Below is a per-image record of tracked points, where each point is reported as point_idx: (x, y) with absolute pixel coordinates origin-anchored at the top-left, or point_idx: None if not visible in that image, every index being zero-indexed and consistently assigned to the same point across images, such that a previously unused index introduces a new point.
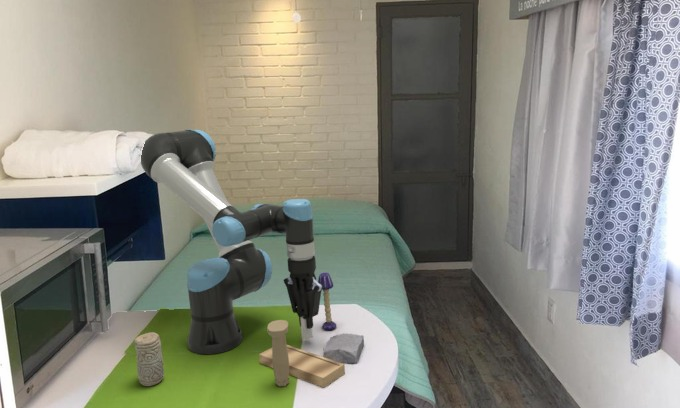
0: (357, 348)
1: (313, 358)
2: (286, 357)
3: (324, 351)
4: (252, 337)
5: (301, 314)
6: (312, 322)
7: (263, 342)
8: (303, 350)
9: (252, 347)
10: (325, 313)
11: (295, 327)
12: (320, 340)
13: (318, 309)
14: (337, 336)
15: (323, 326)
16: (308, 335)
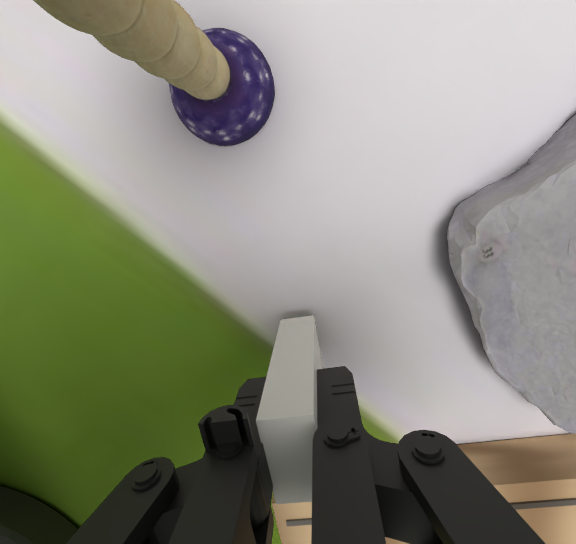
0: None
1: (574, 513)
2: None
3: (567, 425)
4: (48, 460)
5: (271, 514)
6: (356, 397)
7: (132, 459)
8: None
9: None
10: (170, 80)
11: (72, 248)
12: (330, 259)
13: (503, 503)
14: (503, 241)
15: (211, 137)
16: (320, 360)
